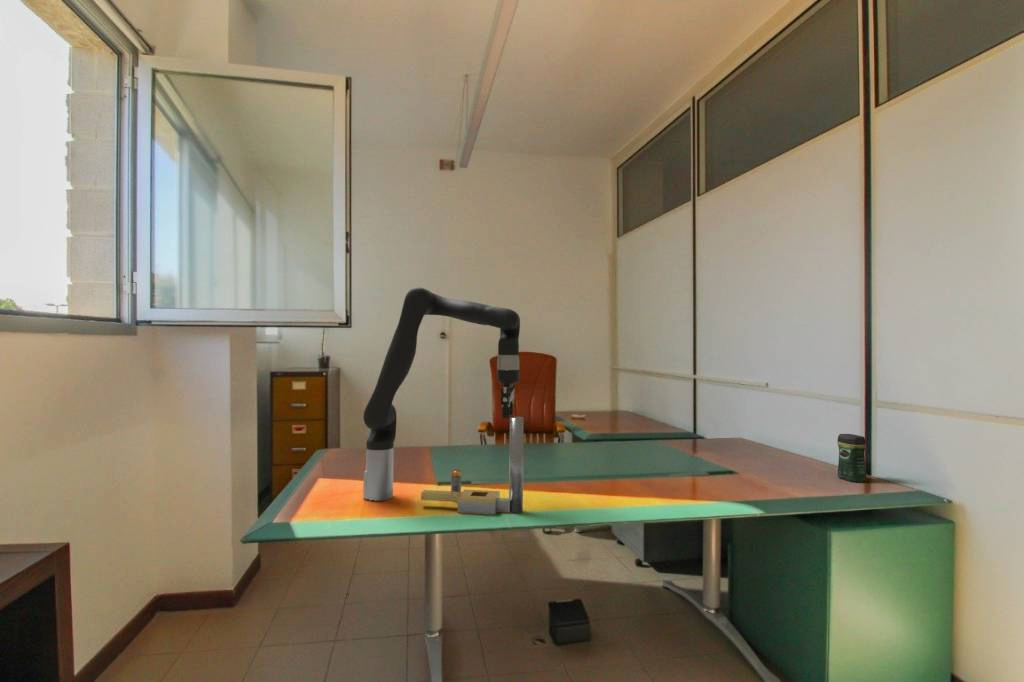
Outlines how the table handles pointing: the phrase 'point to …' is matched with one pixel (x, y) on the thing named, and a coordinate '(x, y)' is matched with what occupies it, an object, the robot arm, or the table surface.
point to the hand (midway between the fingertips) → (507, 416)
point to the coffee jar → (851, 457)
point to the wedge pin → (456, 480)
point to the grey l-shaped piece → (491, 500)
